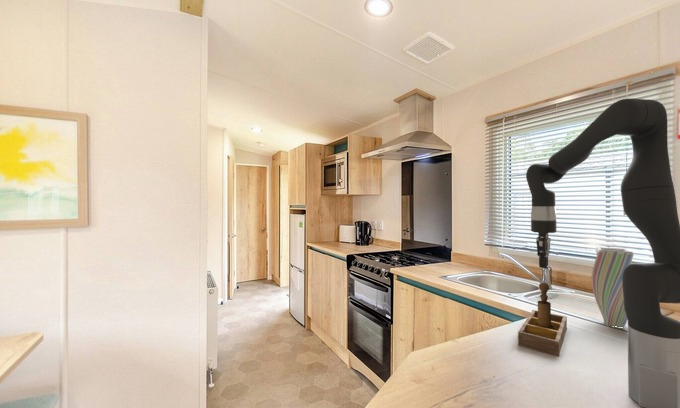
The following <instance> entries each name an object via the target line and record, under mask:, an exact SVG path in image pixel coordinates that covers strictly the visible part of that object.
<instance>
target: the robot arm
mask: <svg viewBox="0 0 680 408" xmlns="http://www.w3.org/2000/svg"><path fill="white" fill-rule="evenodd" d="M667 112H668V111H667V109H666V107H665V105H664V104H663V103H662V102H660V101H657V100H654V99H645V98H644V99H643V98H623V99H619V100H617V101H615V102H613V103H612V104H611V105H609V106H608V107H606V109H605V110H604V111H602V112H601V113H600V114H599V116H598V117H596V118H595V119H594V120H593V121H592V122H591V123H590V124H589V125H588V126H587V127H586V128H585V129H584V130H582V132H581V133H580V134H579V135H577V137H576V138H574V139H573V140H572V141H571V142H569V143H568V144H566V145H565V146H563V147H562V148H561V149H559V150H558V151H557V152H555V153H553V154H552V155H551V156H550V157H549V158H548V163H534V164H532V165H530V166H529V167H528V168H527V169H526V174H525V176H526V177H525V178H526V181H527V185H528V188H529V191H530V195H531V210H530V211H531V212H530V231H531V232H533V233H538V236H537V237H536V238H535V239H536V241H535V243H536V250H537V251H536V253H537V254H536V255H537V256H538V266H539V268H542V269H547V267H549V256H550V250H551V242H552V237H549V234H554V233H555V234H556V233H557V210H556V192H555V191H553V190H550V189H547V188H546V186H545V185H547V184H554V183H556V182H559V181H561V180H562V178H563V177H564V176H565V175H566V174H567V173H568V172H569V171H570V170H572V169H574V168H575V167H577V166H579V165H580V164H582V163H584V162H585V161H586V160H587V159H588V158H589V157H590V156H591V154H592V152H593V151H594V149H595V147H597V146H598V145H599V144H600V143H601V142H603V141H605V140H607V139H610V138H611V137H615V136H616V135H618V136H628V137H630V140H631V141H630V142H631V144H632V160H631V162H630V164H629V166H628V168H627V170H626V171H625V173H624V176H623V178H622V180H621V183H620V194H621V202H622V209H623V212H624V213H625V215H626V217H627V218H628V219H629V220H630V221H631V223H632V224H633V226H635V227H636V228H637V229H638V230H639V232H641V234H642V235H643V236H644V237H645V239H646V240H647V241H648V243H649V246H650V248H651V251H652V255H653V260H654V262H632V264H629V265H628V266H627V267H626V268H625V269H624V272H623V276H622V285H623V297H624V309H625V313H626V316H627V319H628V320H627V373H628V374H627V375H628V377H627V383H628V384H627V385H628V387H627V389H628V391H627V393H628V396H629V395H630V396H629V397H630V398H631V399H632V400H634V401H635V403H637V404H638V406H639V407H642V408H680V321H679V320H677V319H675V318H672V317H671V316H670V317H669V316H667V315H663V313H662V311H661V305H660V304H680V218H679V214H678V205H677V198H676V192H675V191H676V190H675V186H674V183H673V182H674V181H673V178H672V177H673V176H672V171H671V164H670V163H671V162H670V157H669V155H670V154H669V146H668V113H667Z"/></svg>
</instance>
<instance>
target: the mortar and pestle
mask: <svg viewBox="0 0 680 408" xmlns="http://www.w3.org/2000/svg"><path fill="white" fill-rule="evenodd" d="M538 289H539V291H540V292H541V294H540V295H539V296H540V297H539V298H540V300H538V301H537V311H538V322H537V323H535V324H533V325H535V326H539V327H543V328H548V329H552V330H556V329H555V328H554V327H553V326H552V325H551V314H552V310H551V309H552V307H551V306H552V305H551V302H550V301H548V299H549V296H548V294H547V293H548V291H549V290H550V286H549V284H548V283H546V282H541V283H540V284H538Z"/></svg>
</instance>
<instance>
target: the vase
mask: <svg viewBox="0 0 680 408" xmlns="http://www.w3.org/2000/svg"><path fill="white" fill-rule="evenodd" d="M594 249H595V252H596V258H595V260H594V264H593V267H592V271H591V287H592V288H591V289H592V292H593V296H594V299H595V302H596V304H597V307H598V309H599V312H600V313H601V316H602V319H603V323H604V324H605V323H606V324H605V326H606V325H607V326H606V327H609V326H611V327H610V328H615V326H617V327H623V328H624V329H625V327H626V324H627V323H628V319H627V316H626V313H625V309H624V297H623V285H622V276H623V272H624V269H625V268H626V267H627V266H628V265H629V264H632V263H633V258H634V255H635V253H634V252H633V251H632V250H629V249H627V248H620V247H602V246H601V247H600V246H595V248H594ZM612 326H614V327H612Z"/></svg>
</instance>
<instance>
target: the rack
mask: <svg viewBox="0 0 680 408" xmlns="http://www.w3.org/2000/svg"><path fill="white" fill-rule="evenodd" d="M537 322H538V310H536V309H532V310H531V312H530V313H529V314H528V316H527V318H526V319H525V321H524V322H523V324H522V325H521V326H520V328H519V330H518V331H517V344H518V346H519V347H523V348H527V349H530V350H534V351H537V352H541V353H543V354H544V353H545V354H547V355H551V356H555V357H560V354H561V350H562V346H563V343H564V340H565V337H566V332H567V329H568V317H567V316H564V315H559V314H555V313H551V325H552V326H553V327H554V328H555V329H556V330H552V329H548V328H543V327H539V326H535V325H533V324H535V323H537Z"/></svg>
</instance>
